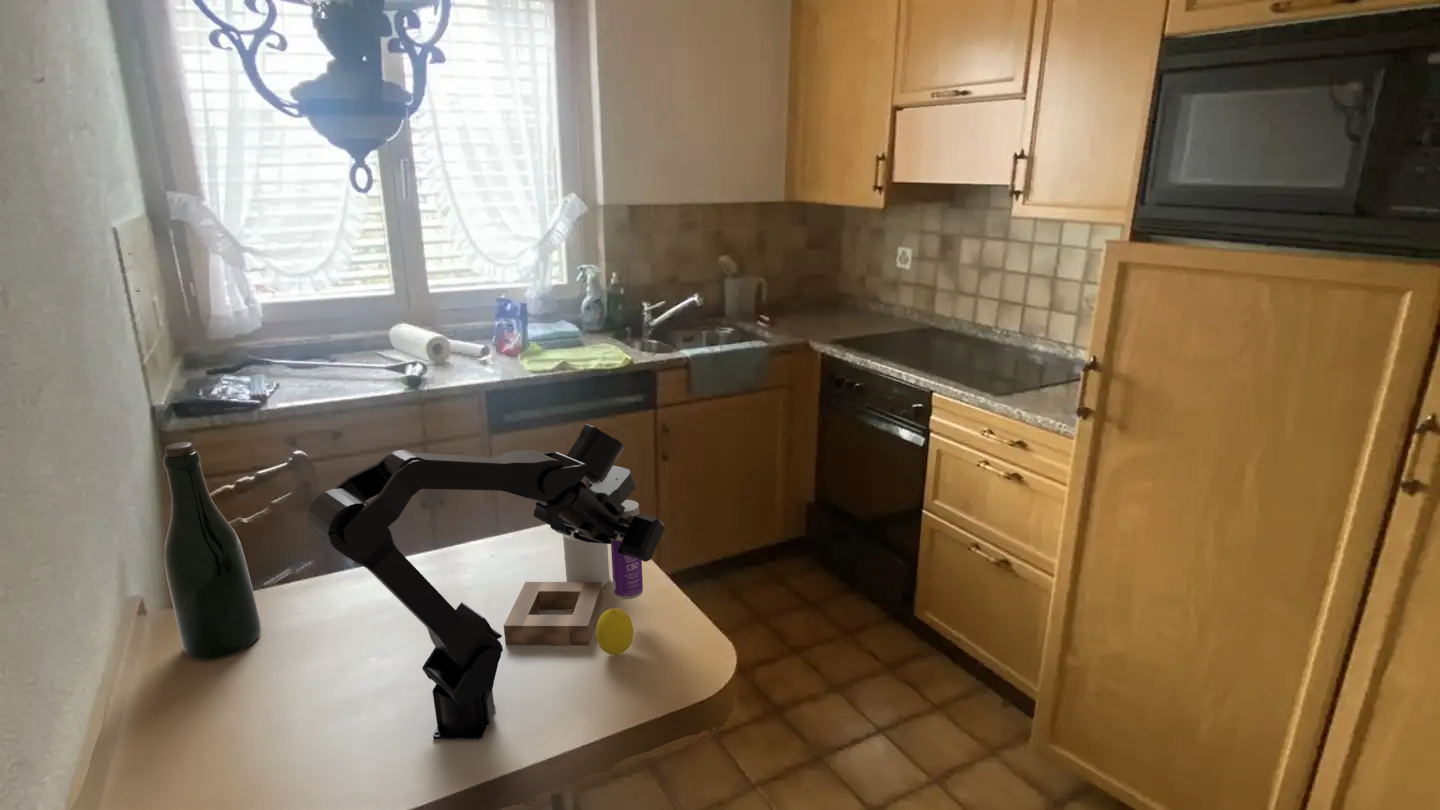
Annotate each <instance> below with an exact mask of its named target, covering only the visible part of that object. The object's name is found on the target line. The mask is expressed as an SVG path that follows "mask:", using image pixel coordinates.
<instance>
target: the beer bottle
mask: <svg viewBox="0 0 1440 810" xmlns="http://www.w3.org/2000/svg"><path fill="white" fill-rule="evenodd" d="M164 451H165V454H164V455H163V462H162V463H163V466H164V468H165V471H166V474H167V480H168V485H169V491H170V497H171V498H170V499H171V500H170V501H171V513H170V521H169V525H168V530H167V532H166V533H167V535H166V538H165V544H164V547H163V549H164V550H163V551H164V555H163V556H164V557H163V559H164V561H163V562H164V568H165V574H166V579H167V585H168V589H169V594H170V599H171V602H172V607H173V611H174V616H175V620H176V625H177V630H178V633H179V637H180V641H181V645H182V648H183V652H184V653H185V654H186V656H188V657H189V658H192V659H194V660H195V659H196V660H201V661H202V660H203V661H204V660H207V661H208V660H216V659H221V658H224V657H227V656H231V655H234V654H236V653H239V652H240V651H242V650H244V649H245V648H247V647H248V646H250V645H251V644H253V643H254V642H255V641H256V640H257V639H258V637H259V636H260V634H261V632H262V626H261V620H260V619H261V618H260V615H259V611H258V606H257V601H256V597H255V592H254V589H253V585H252V580H251V577H250V573H249V569H248V564H247V559H246V557H245V554H244V553H245V552H244V550H243V547H242V543H241V540H240V539H239V536H238V535H237V532H236V531H235V529H234V528H233V527H232V525H231V524H230V522H229V521H228V520H227V519H226V518H225V516H223V514H222V512H221V511H220V509H218V506H217V505H216V504H215V502H214V501H213V499H212V496H211V494H210V491H209V489H208V486H207V483H206V479H205V477H204V473H203V470H202V464H201V455H200V454H199V452H198V450H197V449H194V445H193V443H192V442H191V441H182V442H181V441H180V442H176V443H171V444H169V445H167V446H165V448H164Z"/></svg>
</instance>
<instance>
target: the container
mask: <svg viewBox="0 0 1440 810" xmlns="http://www.w3.org/2000/svg"><path fill="white" fill-rule="evenodd" d="M622 505H623V506H624V507H625V510H624V512H623V514H622V515H619V517H622V518H625V519H626V518H627V517H628V516H636V515H637V514H639V513H640V504H639V503H638V502H637V501H635V500H632V499H626V500H625V501H624V502H623V503H622ZM620 525H621V524H620ZM623 526H624V525H623ZM626 526H628V525H626ZM614 533H616V532H614ZM616 534H618V537H617V539H616V540H612V539H611V544H610V549H611V550H610V551H611V553H610V554H611V567H612V587H613V590H612V592H613V595H614V596H615V597H616V598H618V599H620V600H633V599H636V598H638V597H640V596H642V594H643V591H644V589H643V587H644V586H643V585H644V583H643V561H641V560H638V559H635V558H632V557H629V556H626V555H623V554H620V553H618V552H617V551H618V549H619V547H620V545H621V543H622V542H621V541H622V538H621V537H619V536H620V534H619V533H616Z"/></svg>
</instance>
